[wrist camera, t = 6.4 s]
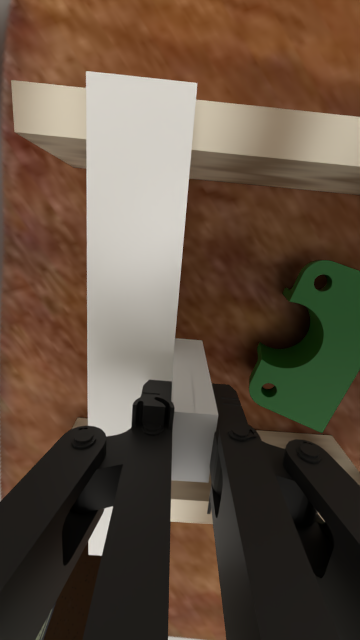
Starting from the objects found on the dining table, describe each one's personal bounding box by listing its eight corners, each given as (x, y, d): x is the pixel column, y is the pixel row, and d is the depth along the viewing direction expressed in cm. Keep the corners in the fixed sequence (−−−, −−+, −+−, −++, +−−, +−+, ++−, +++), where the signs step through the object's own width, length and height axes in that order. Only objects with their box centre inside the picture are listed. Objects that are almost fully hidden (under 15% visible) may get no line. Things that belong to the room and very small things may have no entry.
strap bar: (193, 110, 13) (197, 83, 11) (158, 519, 20) (155, 558, 18) (103, 100, 13) (86, 70, 11) (99, 515, 20) (88, 554, 18)
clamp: (283, 274, 28) (321, 230, 19) (345, 298, 27) (416, 263, 18) (236, 393, 27) (253, 404, 18) (300, 421, 26) (352, 449, 17)
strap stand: (406, 169, 21) (534, 135, 14) (326, 452, 29) (381, 534, 21) (73, 135, 21) (11, 80, 13) (78, 435, 28) (40, 513, 20)
